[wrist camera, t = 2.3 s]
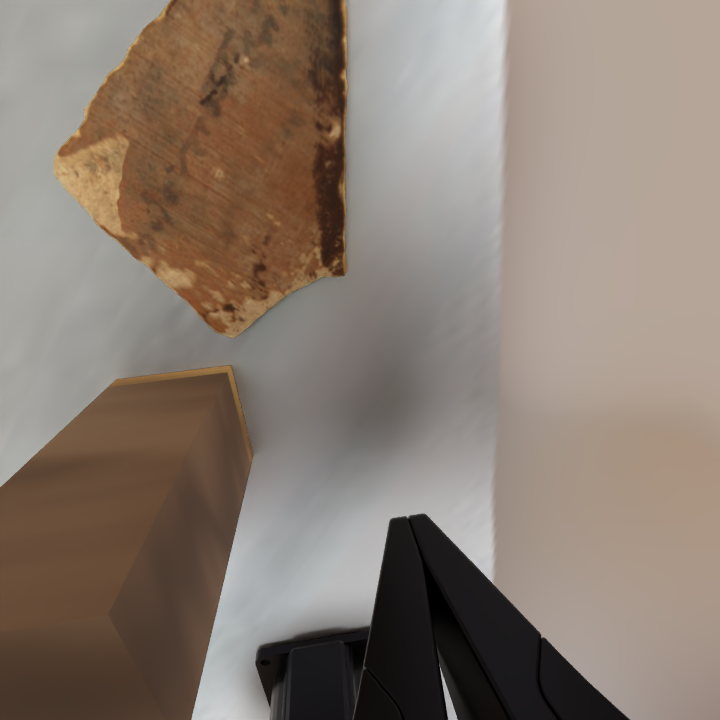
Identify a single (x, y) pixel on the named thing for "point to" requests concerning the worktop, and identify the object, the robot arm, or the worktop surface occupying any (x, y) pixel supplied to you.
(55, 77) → the worktop surface
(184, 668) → the walnut block
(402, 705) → the robot arm
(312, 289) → the worktop surface
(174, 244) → the shard
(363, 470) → the worktop surface
